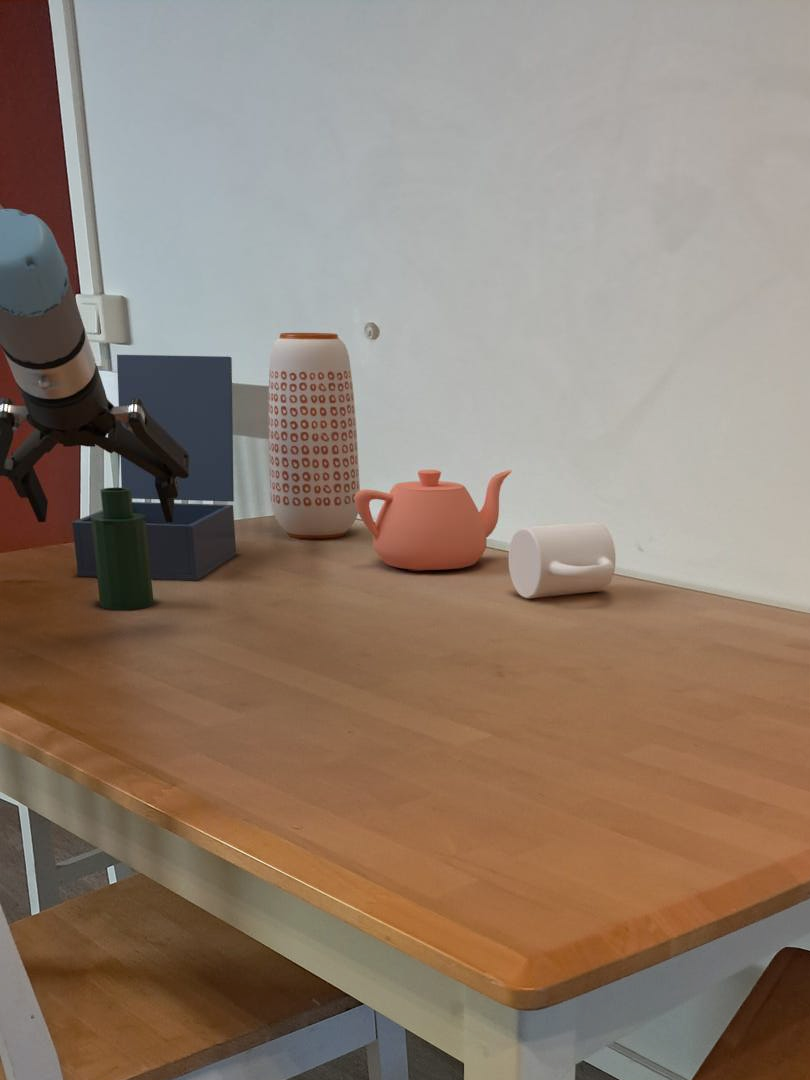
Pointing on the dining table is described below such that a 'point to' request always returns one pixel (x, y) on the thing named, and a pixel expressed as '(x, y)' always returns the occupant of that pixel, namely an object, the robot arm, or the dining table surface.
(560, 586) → the mug
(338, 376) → the white patterned vase
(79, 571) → the chest
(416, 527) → the teapot
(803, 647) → the dining table surface
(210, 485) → the chest lid
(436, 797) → the dining table surface
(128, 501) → the bottle
